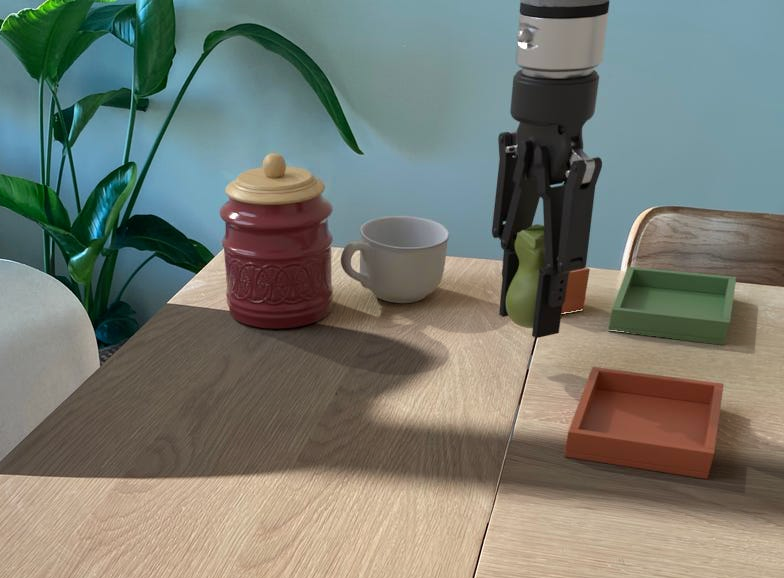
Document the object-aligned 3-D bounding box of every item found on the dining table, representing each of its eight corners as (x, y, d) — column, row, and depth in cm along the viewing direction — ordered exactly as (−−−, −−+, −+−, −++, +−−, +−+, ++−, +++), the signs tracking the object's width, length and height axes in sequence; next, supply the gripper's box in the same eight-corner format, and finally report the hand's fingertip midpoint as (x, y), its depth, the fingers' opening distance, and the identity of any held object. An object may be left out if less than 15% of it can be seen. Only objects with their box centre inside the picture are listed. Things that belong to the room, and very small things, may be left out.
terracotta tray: (707, 479, 86) (714, 453, 85) (563, 457, 90) (568, 431, 88) (717, 407, 97) (723, 383, 95) (588, 390, 100) (592, 366, 99)
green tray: (724, 345, 108) (730, 322, 106) (608, 331, 112) (612, 309, 110) (730, 298, 118) (736, 276, 117) (624, 287, 122) (628, 266, 120)
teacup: (423, 274, 127) (427, 210, 122) (459, 303, 119) (464, 236, 114) (323, 289, 124) (322, 224, 119) (353, 320, 116) (353, 252, 111)
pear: (566, 330, 100) (579, 230, 94) (520, 340, 99) (531, 238, 92) (538, 312, 104) (549, 214, 98) (494, 320, 103) (502, 222, 97)
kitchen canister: (354, 314, 117) (355, 155, 106) (261, 340, 112) (252, 176, 101) (297, 283, 126) (292, 133, 115) (208, 305, 121) (194, 151, 110)
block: (583, 311, 116) (589, 268, 113) (547, 318, 115) (553, 275, 112) (559, 297, 120) (565, 255, 117) (524, 303, 119) (529, 262, 115)
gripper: (466, 58, 92) (452, 300, 107) (583, 92, 79) (548, 364, 94) (534, 49, 94) (511, 288, 109) (659, 81, 81) (613, 349, 96)
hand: (528, 323), depth 101 cm, fingers closed on pear, 6 cm apart
